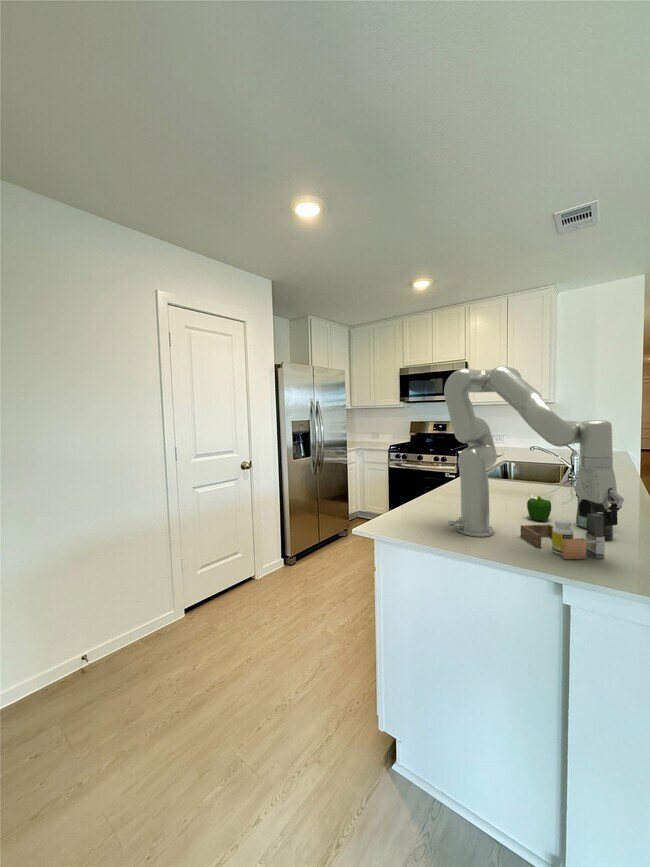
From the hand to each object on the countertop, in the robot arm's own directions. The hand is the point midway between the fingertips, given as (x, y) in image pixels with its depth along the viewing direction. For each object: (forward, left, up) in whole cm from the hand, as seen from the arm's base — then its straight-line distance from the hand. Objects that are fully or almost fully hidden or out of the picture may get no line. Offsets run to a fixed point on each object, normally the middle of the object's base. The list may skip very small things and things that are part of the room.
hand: (597, 520), depth 102 cm
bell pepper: (+4, +36, -11) cm, 38 cm away
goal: (-8, +13, -11) cm, 19 cm away
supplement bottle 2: (+12, +15, -11) cm, 22 cm away
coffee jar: (+17, +25, -11) cm, 32 cm away
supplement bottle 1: (-8, +4, -11) cm, 14 cm away
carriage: (-5, 0, -11) cm, 12 cm away
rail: (0, +7, -11) cm, 13 cm away
